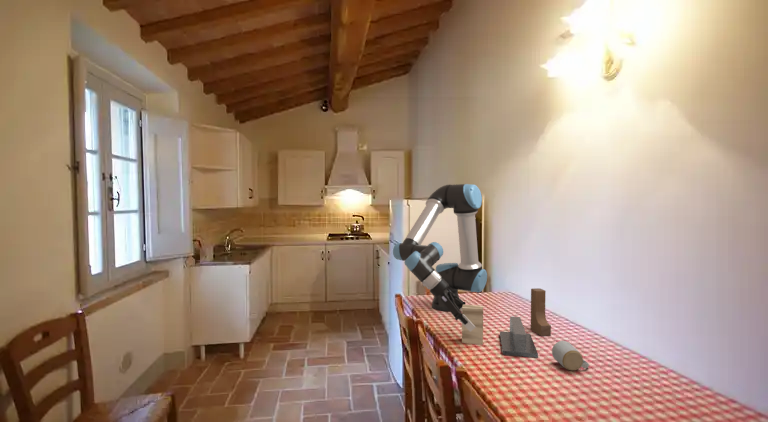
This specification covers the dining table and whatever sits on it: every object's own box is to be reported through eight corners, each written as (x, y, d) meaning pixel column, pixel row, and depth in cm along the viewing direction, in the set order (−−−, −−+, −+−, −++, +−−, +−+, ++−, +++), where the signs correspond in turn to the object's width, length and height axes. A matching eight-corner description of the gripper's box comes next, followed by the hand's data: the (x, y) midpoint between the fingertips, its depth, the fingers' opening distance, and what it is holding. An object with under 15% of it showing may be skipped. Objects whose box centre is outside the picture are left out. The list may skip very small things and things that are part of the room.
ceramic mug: (562, 372, 129) (563, 349, 128) (551, 361, 137) (551, 340, 137) (594, 372, 129) (595, 349, 129) (580, 362, 137) (581, 340, 137)
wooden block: (551, 336, 163) (551, 292, 163) (540, 336, 163) (541, 293, 162) (539, 328, 172) (540, 288, 172) (530, 329, 171) (530, 288, 171)
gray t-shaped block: (499, 334, 164) (499, 315, 164) (530, 337, 162) (530, 317, 161) (502, 354, 143) (503, 333, 143) (537, 357, 140) (538, 335, 140)
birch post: (462, 338, 160) (462, 304, 159) (482, 340, 158) (483, 305, 157) (461, 343, 155) (462, 307, 154) (482, 344, 153) (483, 309, 153)
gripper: (432, 283, 172) (467, 320, 168) (424, 297, 147) (465, 340, 144) (445, 272, 170) (480, 309, 167) (439, 284, 146) (480, 327, 143)
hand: (473, 324), depth 155 cm, fingers open, 13 cm apart
